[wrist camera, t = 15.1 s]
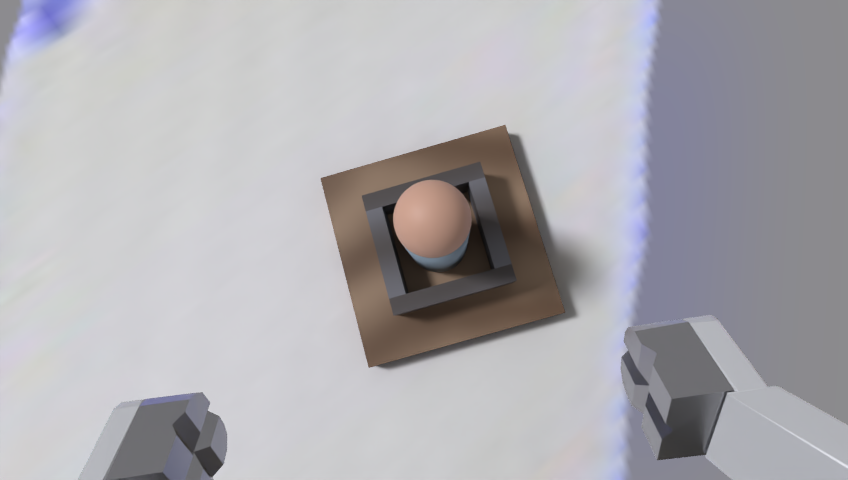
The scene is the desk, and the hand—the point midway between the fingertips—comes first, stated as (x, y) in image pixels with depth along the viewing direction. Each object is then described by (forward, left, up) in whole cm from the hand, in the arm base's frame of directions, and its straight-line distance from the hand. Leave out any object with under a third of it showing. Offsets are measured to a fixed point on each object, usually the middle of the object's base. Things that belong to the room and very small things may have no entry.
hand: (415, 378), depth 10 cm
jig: (+6, -1, -29) cm, 30 cm away
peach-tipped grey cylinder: (+6, -1, -28) cm, 29 cm away
